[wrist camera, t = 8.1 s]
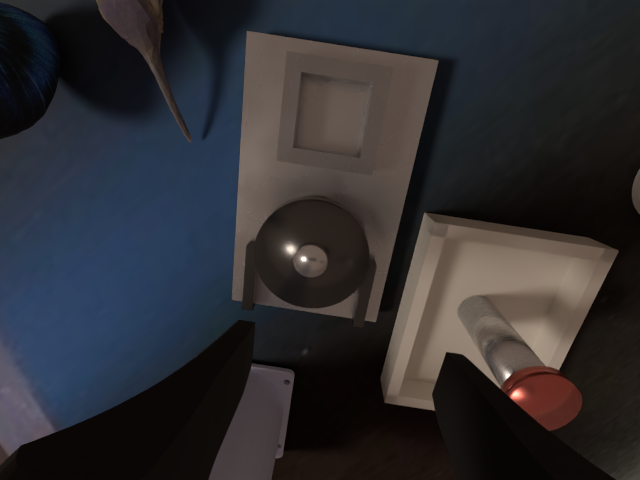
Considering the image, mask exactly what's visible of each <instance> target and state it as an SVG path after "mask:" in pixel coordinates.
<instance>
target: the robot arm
mask: <svg viewBox="0 0 640 480" xmlns="http://www.w3.org/2000/svg"><path fill="white" fill-rule="evenodd" d="M254 332H255V322H250V321H243V320H238V321H237V322H236V323H235V324H233V325H232V326H231V327H230V328H229V329H228V330H227V331H226V332H225V333H224V334H222V335H221V336H220V337H219V338H218V339H217V340H216V341H214V342H213V343H212V344H211V345H210V346H208V347H207V348H206V349H205V350H204V351H202V352H201V353H200V354H199V355H197V356H196V357H195V358H193V359H192V360H191V361H189V362H188V363H187V364H185V365H184V366H183V367H181V368H180V369H178V370H177V371H176V372H174V373H173V374H171V375H170V376H168V377H167V378H165V379H164V380H162V381H160V382H159V383H157V384H156V385H154V386H152V387H151V388H149V389H147V390H145V391H143V392H142V393H140V394H138V395H136V396H134V397H132V398H131V399H129V400H127V401H125V402H123V403H121V404H119V405H117V406H115V407H113V408H111V409H109V410H107V411H105V412H103V413H101V414H98V415H96V416H94V417H92V418H89V419H87V420H85V421H83V422H80V423H78V424H76V425H73V426H71V427H68V428H66V429H63V430H61V431H58V432H55V433H53V434H50V435H48V436H45V437H43V438H40V439H37V440H35V441H32V442H29V443H27V444H24V445H21V446H20V447H19V448H18V449H17V450H16V451H15V452H14V453H13V454H12V455H10V456H9V457H8V458H7V459H6V460H5V461H4V462H3V463H2V464H1V465H0V480H271V478H272V473H273V468H274V462H275V458H280V457H282V455H283V450H284V444H285V437H286V430H287V423H288V416H289V410H290V403H291V396H292V389H293V383H294V376H295V374H294V372H293V371H292V370H290V369H285V368H279V367H272V366H266V365H260V364H253V363H252V355H253V344H254ZM286 380H289V381H286ZM432 397H433V402H434V408H435V412H436V416H437V421H438V424H439V427H440V430H441V433H442V436H443V439H444V442H445V445H446V448H447V451H448V454H449V456H450V459H451V462H452V465H453V468H454V471H455V473H456V476H457V479H458V480H616V479H614V478H613V477H611V476H610V475H608V474H607V473H605V472H604V471H602V470H601V469H599V468H598V467H596V466H595V465H594V464H592V463H591V462H589V461H588V460H587V459H585V458H584V457H582V456H581V455H580V454H578V453H577V452H576V451H574V450H573V449H572V448H570V447H569V446H568V445H566V444H565V443H564V442H562V441H561V440H560V439H558V438H557V437H556V436H554V435H553V434H552V433H551V432H549V431H548V430H547V429H546V428H545V427H543V426H542V425H541V424H540V423H539V422H537V421H536V420H535V419H534V418H533V417H531V416H530V415H529V414H528V413H527V412H526V411H524V410H523V409H522V408H521V407H520V406H519V405H518V404H516V403H515V402H514V401H513V400H512V399H511V398H510V397H509V396H508V395H507V394H505V393H504V392H503V391H502V390H501V389H500V388H499V387H498V386H497V385H496V384H495V383H494V382H493V381H491V380H490V379H489V378H488V377H487V376H486V375H485V374H484V373H483V372H482V371H481V370H480V369H479V368H478V367H476V366H475V365H474V364H473V363H472V362H471V361H470V360H469V359H468V358H466V357H465V356H464V355H463V354H457V353H450V352H446V354H445V357H444V360H443V363H442V366H441V369H440V372H439V375H438V378H437V381H436V384H435V386H434V389H433V392H432Z"/></svg>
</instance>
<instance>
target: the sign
mask: <svg viewBox="0 0 640 480" xmlns="http://www.w3.org/2000/svg"><path fill="white" fill-rule="evenodd" d="M632 201H633V204H634V207H635V209H636V210H637V212H638V213H639V214H640V169H639V171H638V173H637V175H636V177H635V180H634V183H633V187H632Z"/></svg>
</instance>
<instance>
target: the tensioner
mask: <svg viewBox="0 0 640 480" xmlns="http://www.w3.org/2000/svg"><path fill="white" fill-rule="evenodd" d="M438 61H439V60H433V59H426V58H420V57H413V56H407V55H400V54H394V53H387V52H381V51H374V50H368V49H361V48H355V47H348V46H342V45H335V44H329V43H322V42H316V41H309V40H303V39H296V38H290V37H283V36H277V35H270V34H264V33H257V32H251V31H247V40H246V58H245V76H244V94H243V111H242V129H241V147H240V165H239V182H238V200H237V218H236V236H235V254H234V271H233V289H232V300H236V301H242V309H245V310H253V308H254V306H255V304H262V305H269V306H275V307H282V308H288V309H295V310H301V311H308V312H314V313H321V314H327V315H334V316H340V317H346V318H352V325H353V326H355V327H362V328H363V326H364V321H365V320H366V321H372V322H376V319H377V315H378V310H379V306H380V302H381V298H382V294H383V290H384V285H385V281H386V277H387V273H388V269H389V265H390V261H391V256H392V252H393V248H394V244H395V240H396V236H397V231H398V227H399V223H400V219H401V215H402V211H403V206H404V202H405V198H406V194H407V190H408V186H409V182H410V177H411V173H412V169H413V165H414V161H415V157H416V152H417V148H418V144H419V140H420V136H421V132H422V128H423V123H424V119H425V115H426V111H427V107H428V103H429V98H430V94H431V90H432V86H433V82H434V78H435V74H436V69H437V65H438Z"/></svg>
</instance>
